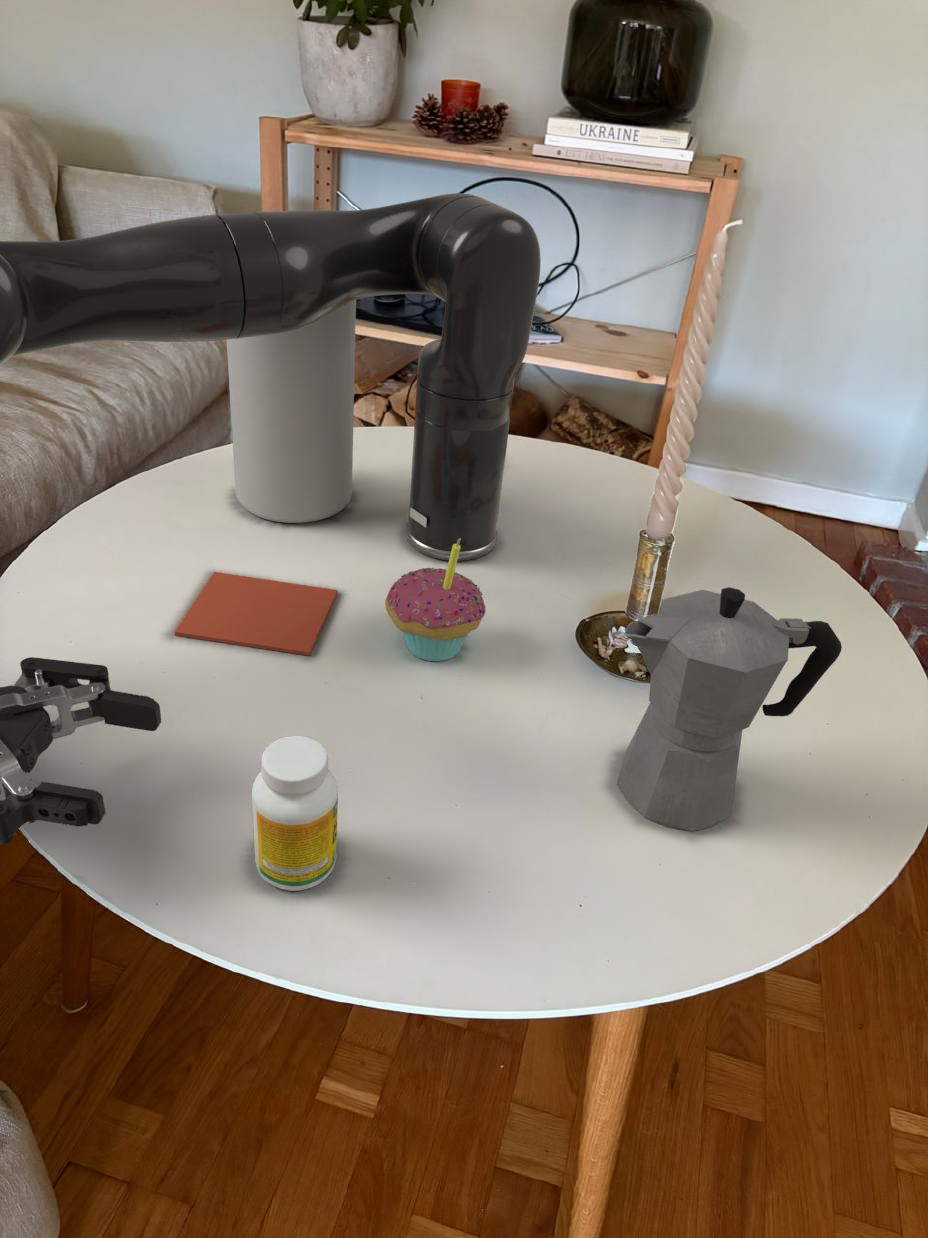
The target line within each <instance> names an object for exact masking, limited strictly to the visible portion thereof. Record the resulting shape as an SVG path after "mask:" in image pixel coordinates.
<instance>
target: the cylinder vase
mask: <svg viewBox="0 0 928 1238" xmlns="http://www.w3.org/2000/svg"><path fill="white" fill-rule="evenodd" d="M356 315H357V300H355V301H352V302H350V303H348V304H346V305H344V306H342V307H340V308H338V309H336V310H335V311H333V312H331V313H329V314H328V315H326V316H324V317H322V318H321V319H319V320H317V321H315V322H313V323H310V324H308V325H306V326H303V327H301V328H298V329H295V330H291V331H287V332H282V333H277V334H270V335H262V336H254V337H246V338H239V339H229V340H226V349H227V350H226V352H227V369H228V388H229V404H230V406H229V407H230V420H231V421H230V423H231V440H232V456H233V472H234V473H233V475H234V492H235V496H236V499H237V501H238V503H239V504H240V506H242V508H243V509H244V510H246V511H247V512H249V513H251V514H252V515H254V516H256V517H259V518H261V519H264V520H268V521H272V522H278V523H288V524H303V523H312V522H318V521H321V520H325V519H328V518H331V517H332V516H334V515H336V514H339V513H340V512H341V511H343V510H344V509H345V508H346V507H347V506H348V504H349V503H350V501H351V499H352V495H353V465H354V464H353V461H354V460H353V459H354V457H353V456H354V416H355V415H354V413H355V412H354V411H355V410H354V409H355V371H356V370H355V366H356V365H355V363H356V361H355V360H356V359H355V358H356V320H357V319H356V317H357V316H356Z"/></svg>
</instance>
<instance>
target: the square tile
mask: <svg viewBox="0 0 928 1238" xmlns="http://www.w3.org/2000/svg"><path fill="white" fill-rule="evenodd" d="M337 596H338V589H334V588H327V587H321V586H320V587H319V586H312V585H307V584H299V583H293V582H286V581H279V580H273V579H265V578H258V577H252V576H246V575H245V576H244V575H239V574H238V575H237V574H231V573H225V572H219V571H214V572H213V573H212V574H211V576H210V577H209V579H208V581H206V583H205V585H204V586H203V588H202V589H201V591H200V592H199V594H198V595H197V597H196V598H195V600H194V601H193V602H192V604H191V606H190V608H189V609H188V610H187V612H186V614H185V615H184V617H183V618H182V620H181V621H180V622H179V624H178V626H177V627H176V629H175V630H174V636H177V637H184V638H189V639H195V640H203V641H209V642H217V643H223V644H230V645H236V646H243V647H249V648H256V649H264V650H269V651H277V652H283V653H289V654H296V655H302V656H309V657H311V654H312V652H313V649H314V647H315V645H316V643H317V641H318V638H319V636H320V634H321V632H322V629H323V627H324V625H325V622H326V620H327V618H328V616H329V614H330V612H331V609H332V607H333V605H334V602H335V600H336V598H337Z"/></svg>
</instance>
